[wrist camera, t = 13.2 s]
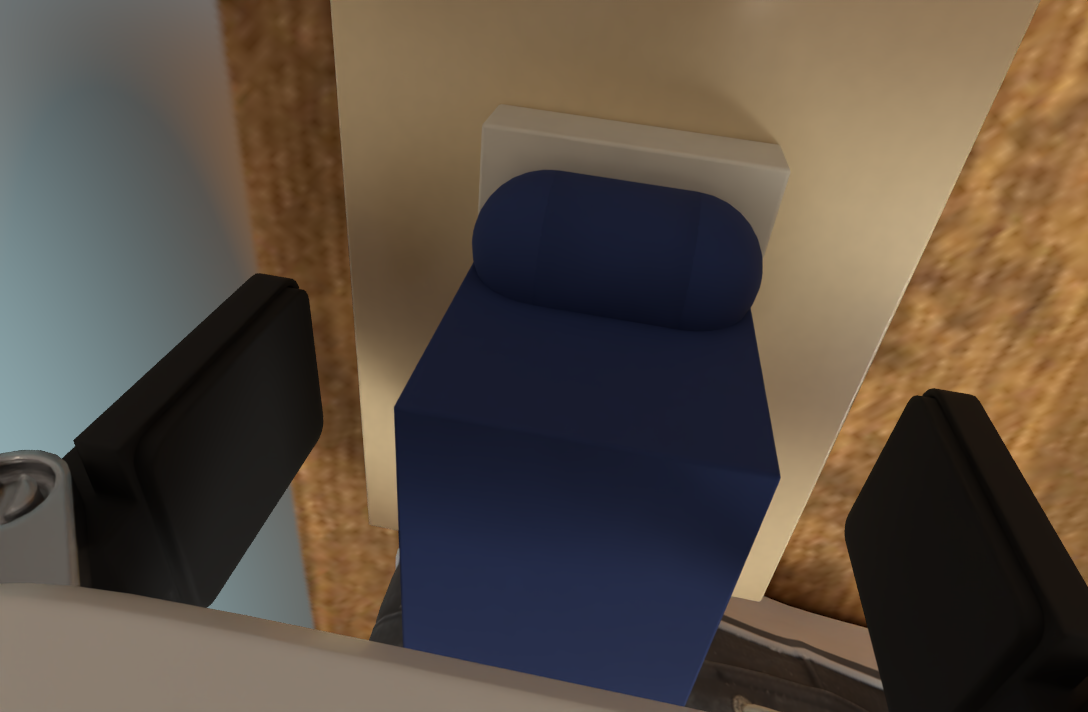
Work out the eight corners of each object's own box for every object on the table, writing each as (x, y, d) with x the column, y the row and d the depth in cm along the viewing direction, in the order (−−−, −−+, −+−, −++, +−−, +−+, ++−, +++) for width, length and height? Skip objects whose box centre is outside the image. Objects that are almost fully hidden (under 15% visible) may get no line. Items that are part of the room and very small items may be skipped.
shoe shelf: (409, -143, 13) (316, -156, 9) (964, -76, 12) (1073, -66, 9) (417, 425, 21) (368, 525, 17) (747, 487, 20) (761, 603, 17)
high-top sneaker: (674, 499, 15) (673, 761, 11) (478, 462, 15) (394, 701, 11) (782, 143, 11) (862, 336, 6) (498, 102, 11) (370, 254, 6)
